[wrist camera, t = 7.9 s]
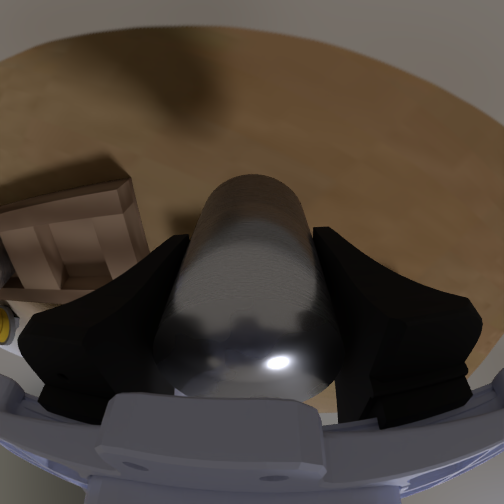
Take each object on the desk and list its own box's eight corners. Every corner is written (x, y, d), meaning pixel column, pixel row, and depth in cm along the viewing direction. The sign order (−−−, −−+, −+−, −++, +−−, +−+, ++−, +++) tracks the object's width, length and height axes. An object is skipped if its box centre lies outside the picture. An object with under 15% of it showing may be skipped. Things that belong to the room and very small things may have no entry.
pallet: (160, 287, 25) (152, 306, 23) (-1, 286, 26) (-11, 298, 24) (131, 177, 19) (116, 189, 17) (-32, 216, 21) (-45, 226, 19)
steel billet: (303, 263, 15) (330, 406, 8) (209, 268, 15) (180, 409, 8) (304, 171, 12) (359, 290, 5) (195, 178, 13) (125, 299, 6)
